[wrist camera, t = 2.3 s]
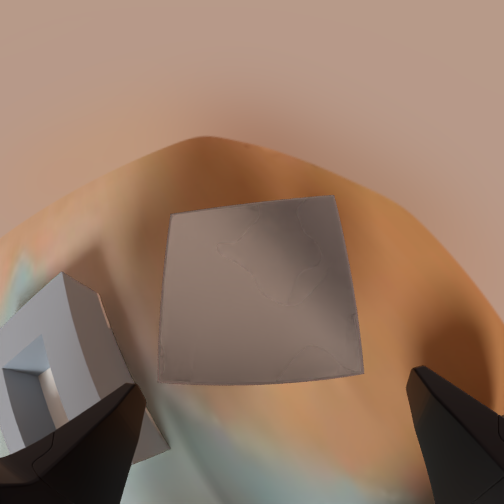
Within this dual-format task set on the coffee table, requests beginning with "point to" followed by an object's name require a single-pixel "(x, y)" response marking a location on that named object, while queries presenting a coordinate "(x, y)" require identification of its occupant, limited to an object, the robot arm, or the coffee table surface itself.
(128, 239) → the coffee table surface
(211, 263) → the metal bar
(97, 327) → the square well
